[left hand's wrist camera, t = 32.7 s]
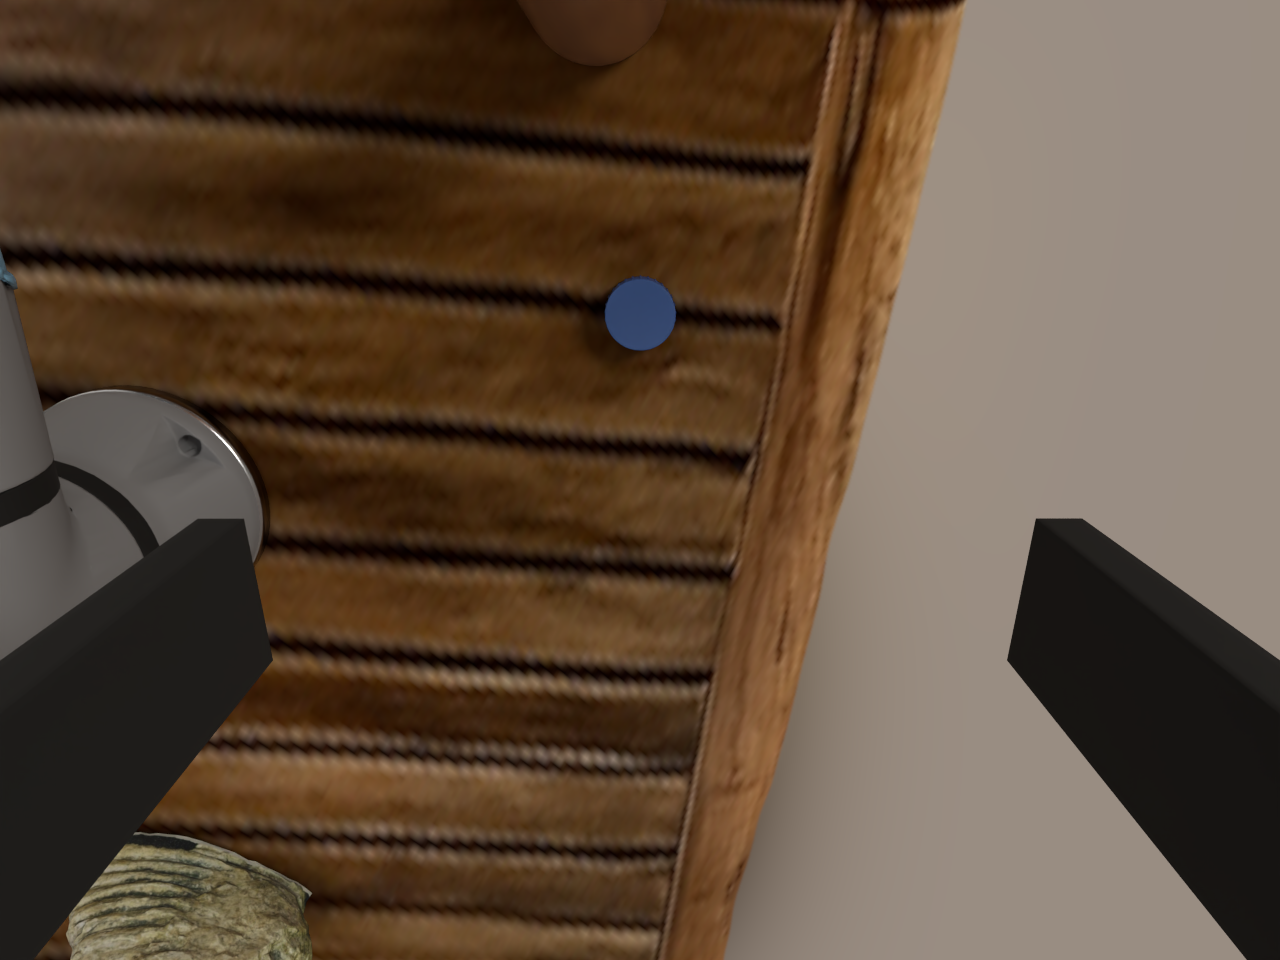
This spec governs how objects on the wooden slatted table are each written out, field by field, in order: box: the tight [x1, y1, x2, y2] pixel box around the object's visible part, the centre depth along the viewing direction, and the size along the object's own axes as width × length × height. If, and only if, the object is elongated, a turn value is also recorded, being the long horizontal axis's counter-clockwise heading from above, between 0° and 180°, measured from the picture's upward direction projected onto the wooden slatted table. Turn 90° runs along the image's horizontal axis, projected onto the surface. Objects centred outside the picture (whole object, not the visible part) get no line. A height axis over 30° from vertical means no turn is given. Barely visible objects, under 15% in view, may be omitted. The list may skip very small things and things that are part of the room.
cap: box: [604, 275, 676, 351], centre depth 44 cm, size 4×4×2 cm
